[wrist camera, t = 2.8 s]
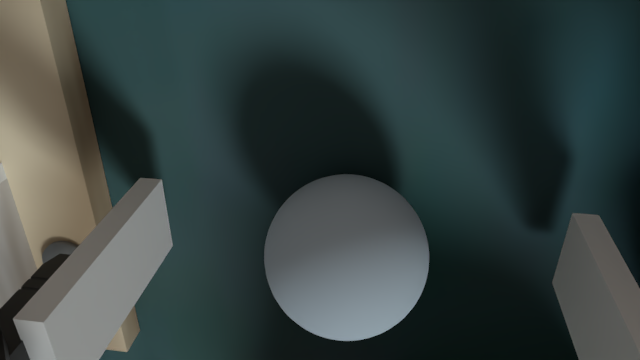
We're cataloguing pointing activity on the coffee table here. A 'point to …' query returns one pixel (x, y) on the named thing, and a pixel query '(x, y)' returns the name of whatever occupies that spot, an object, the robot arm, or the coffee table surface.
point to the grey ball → (346, 257)
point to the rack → (46, 148)
